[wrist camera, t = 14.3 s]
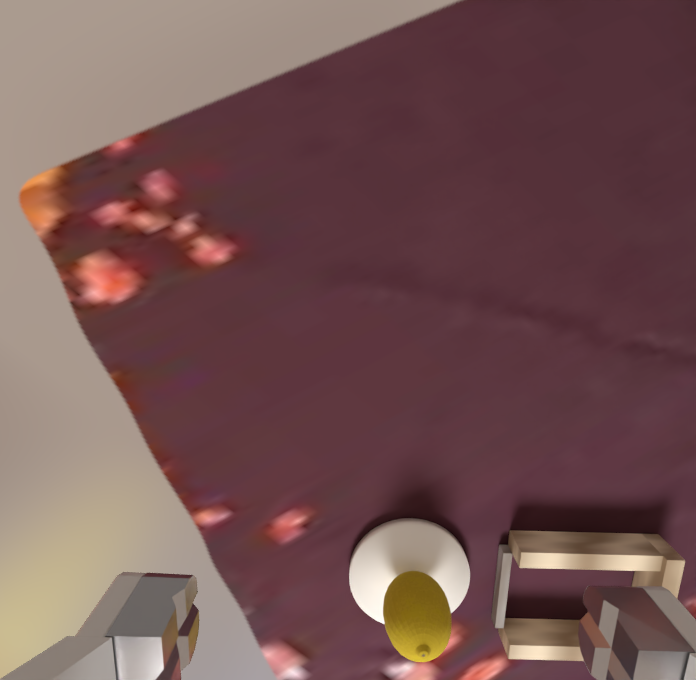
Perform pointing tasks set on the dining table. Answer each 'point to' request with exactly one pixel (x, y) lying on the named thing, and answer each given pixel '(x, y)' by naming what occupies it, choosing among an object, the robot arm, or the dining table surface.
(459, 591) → the saucer
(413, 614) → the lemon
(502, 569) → the wooden rectangular frame
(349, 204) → the dining table surface
